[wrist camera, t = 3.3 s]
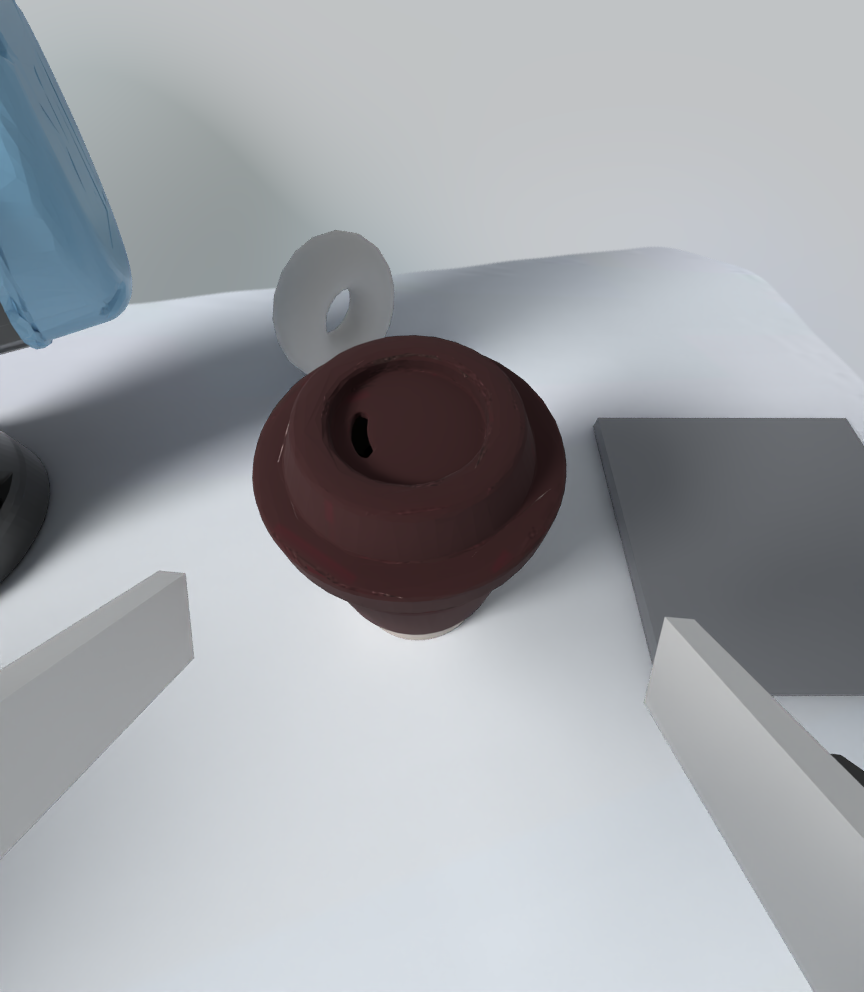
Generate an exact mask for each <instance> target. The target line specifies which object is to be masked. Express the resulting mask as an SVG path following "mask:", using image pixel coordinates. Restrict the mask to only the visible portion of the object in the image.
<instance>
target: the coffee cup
mask: <svg viewBox="0 0 864 992" xmlns="http://www.w3.org/2000/svg"><path fill="white" fill-rule="evenodd" d="M252 479H253V491H254V495H255V500H256V504H257V507H258V509H259V512H260V515H261V518H262V521H263V522H264V524H265V526H266V528H267V530H268V532H269V534H270V535H271V537H272V538H273V540H274V541H275V543H276V544H277V545H278V546H279V547H280V549H281V550H282V551H283V552H284V554H285V555H286V556H287V557H288V559H289V560H290V561H291V562H292V563H293V564H294V565H295V566H296V568H297V569H298V570H299V571H300V572H301V573H302V574H303V575H305V576H306V577H307V578H308V579H309V580H311V581H312V582H313V583H315V584H316V585H318V586H319V587H321V588H322V589H324V590H325V591H327V592H328V593H330V594H332V595H334V596H336V597H339V598H341V599H343V600H345V601H347V602H348V603H349V604H350V605H351V606H353V607H354V608H355V609H356V610H357V611H358V612H359V613H360V614H361V615H362V616H363V617H364V618H366V619H367V620H369V621H370V622H372V623H373V624H375V625H377V626H379V627H380V628H381V629H383V630H384V631H386V632H388V633H390V634H392V635H394V636H397V637H400V638H404V639H409V640H427V639H432V638H436V637H439V636H442V635H444V634H446V633H448V632H450V631H452V630H453V629H455V628H456V627H458V626H459V625H460V624H461V623H462V622H463V621H464V620H465V619H467V618H468V617H469V616H470V615H471V614H473V613H474V612H475V611H476V610H477V609H478V608H479V607H480V606H481V604H482V603H483V602H484V600H485V599H486V598H487V596H488V595H489V594H490V592H491V591H492V590H494V589H496V588H497V587H499V586H501V585H502V584H504V583H505V582H506V581H507V580H508V579H510V578H511V577H512V576H513V575H514V574H515V573H517V572H518V571H519V570H520V569H521V568H522V567H523V566H524V565H525V564H526V562H527V561H528V560H529V559H530V558H531V557H532V556H533V554H534V553H535V551H536V550H537V548H538V547H539V546H540V544H541V542H542V541H543V539H544V537H545V536H546V534H547V532H548V531H549V529H550V527H551V525H552V523H553V522H554V520H555V518H556V515H557V513H558V510H559V508H560V506H561V502H562V498H563V495H564V490H565V483H566V457H565V450H564V446H563V442H562V437H561V435H560V432H559V429H558V426H557V424H556V421H555V419H554V418H553V416H552V414H551V413H550V411H549V409H548V408H547V406H546V405H545V403H544V401H543V400H542V399H541V398H540V397H539V396H538V394H537V393H536V392H535V391H534V390H533V389H532V388H531V387H530V386H529V385H528V383H526V382H525V381H524V380H523V379H522V378H520V377H519V376H518V375H516V374H515V373H513V372H512V371H511V370H509V369H508V368H506V367H505V366H503V365H502V364H500V363H498V362H496V361H494V360H492V359H490V358H488V357H486V356H483V355H481V354H480V353H478V352H476V351H475V350H473V349H471V348H468V347H466V346H463V345H461V344H459V343H456V342H453V341H449V340H445V339H441V338H437V337H428V336H417V335H409V336H392V337H385V338H380V339H376V340H372V341H369V342H366V343H362V344H359V345H356V346H354V347H352V348H350V349H347V350H345V351H343V352H341V353H339V354H338V355H336V356H335V357H333V358H332V359H331V360H329V361H328V362H326V363H325V364H323V365H321V366H319V367H318V368H316V369H315V370H313V371H312V372H310V373H309V374H307V375H306V376H304V377H303V378H302V379H301V380H300V381H298V382H297V383H296V384H295V385H294V386H293V387H292V388H291V389H290V390H289V391H288V392H287V394H286V395H285V396H284V397H283V398H282V399H281V400H280V401H279V403H278V404H277V405H276V407H275V408H274V410H273V411H272V413H271V414H270V416H269V418H268V419H267V421H266V423H265V425H264V427H263V429H262V431H261V433H260V437H259V440H258V443H257V447H256V451H255V456H254V462H253V476H252Z"/></svg>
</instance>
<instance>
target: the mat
mask: <svg viewBox="0 0 864 992" xmlns="http://www.w3.org/2000/svg"><path fill="white" fill-rule="evenodd" d="M593 428H594V432H595V436H596V440H597V444H598V448H599V452H600V456H601V460H602V464H603V468H604V472H605V476H606V480H607V484H608V488H609V492H610V496H611V500H612V504H613V508H614V512H615V516H616V520H617V524H618V528H619V532H620V536H621V540H622V544H623V548H624V552H625V556H626V560H627V564H628V568H629V572H630V576H631V580H632V584H633V588H634V592H635V596H636V600H637V604H638V608H639V612H640V616H641V620H642V624H643V628H644V632H645V636H646V640H647V644H648V648H649V652H650V656H651V660H652V664H653V663H654V659H655V655H656V651H657V646H658V642H659V638H660V634H661V630H662V626H663V622H664V618H665V617H674V618H685V619H694V620H695V621H696V622H697V623H698V624H699V625H700V626H701V627H702V628H703V629H704V630H705V631H706V632H707V633H708V634H709V635H710V636H711V637H712V638H713V639H714V640H715V641H717V642H718V643H719V644H720V645H721V646H722V647H723V648H724V649H725V650H726V651H727V652H728V653H729V654H730V655H731V656H732V657H733V658H734V659H735V660H736V661H737V662H738V663H739V664H740V665H741V666H742V667H743V668H744V669H745V670H746V671H747V672H748V673H749V674H750V675H751V676H752V677H753V678H754V679H755V680H756V681H757V682H758V683H759V684H760V685H761V686H762V687H763V688H764V689H765V690H766V691H767V692H768V693H769V694H770V695H771V696H856V695H864V446H863V444H862V442H861V441H860V439H859V438H858V436H857V435H856V433H855V432H854V430H853V428H852V427H851V425H850V424H849V422H848V421H847V419H846V418H598V419H597V421H596V423H595V425H594V426H593Z"/></svg>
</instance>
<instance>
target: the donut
mask: <svg viewBox="0 0 864 992" xmlns="http://www.w3.org/2000/svg"><path fill="white" fill-rule="evenodd" d="M346 289H348V290H349V295H350V302H349V308H348V311H347V313H346V316H345V318H344V319H343V321H342V322H341V324H340V325H339V326H338V327H337V328H336V329H335V330H333V331H331V332H328V333H327V329H326V318H327V313H328V310H329V308H330V305H331V303H332V302H333V300H334V299H335V297H336V296H337V295H338V294H339V293H340V292H342V291H343V290H346ZM393 309H394V284H393V280H392V275H391V271H390V268H389V266H388V264H387V262H386V261H385V259H384V257H383V256H382V254H381V252H380V250H379V249H378V248H377V247H376V246H375V245H374V244H372V243H371V242H369V241H368V240H367V239H365V238H364V237H362V236H361V235H359V234H357V233H352V232H345V231H338V230H334V231H331V232H328V233H325V234H322V235H319V236H315V237H313V238H311V239H310V240H309V241H307V242H306V243H305V244H304V245H303V246H301V247H300V248H299V249H298V250H296V251H295V252H294V254H293V255H292V257H291V258H290V260H289V262H288V263H287V265H286V266H285V268H284V269H283V271H282V273H281V276H280V279H279V282H278V285H277V288H276V291H275V294H274V304H273V323H274V327H275V332H276V336H277V340H278V343H279V345H280V347H281V349H282V350H283V352H284V353H285V355H286V357H287V358H288V360H289V361H290V362H291V363H292V364H293V365H294V366H296V367H297V368H298V369H300V370H301V371H302V372H304V373H305V374H309V373H310V372H312V371H313V370H315V369H316V368H318V367H319V366H321V365H323V364H325V363H326V362H328V361H329V360H331V359H332V358H333V357H335V356H336V355H338V354H339V353H341V352H343V351H345V350H347V349H350V348H352V347H354V346H356V345H359V344H362V343H366V342H369V341H372V340H376V339H380V338H385V335H386V333H387V331H388V328H389V326H390V322H391V318H392V313H393Z"/></svg>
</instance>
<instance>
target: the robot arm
mask: <svg viewBox="0 0 864 992" xmlns="http://www.w3.org/2000/svg"><path fill="white" fill-rule="evenodd" d="M131 294H132V276H131V270H130V265H129V261H128V258H127V254H126V250H125V247H124V244H123V241H122V238H121V235H120V232H119V230H118V226H117V223H116V221H115V218H114V215H113V212H112V209H111V207H110V204H109V202H108V199H107V197H106V194H105V192H104V189H103V187H102V184H101V182H100V179H99V177H98V174H97V172H96V169H95V167H94V164H93V162H92V160H91V157H90V155H89V153H88V150H87V148H86V145H85V143H84V141H83V139H82V136H81V134H80V132H79V129H78V127H77V125H76V123H75V120H74V118H73V116H72V114H71V112H70V109H69V107H68V105H67V103H66V100H65V98H64V96H63V94H62V92H61V90H60V88H59V85H58V83H57V82H56V79H55V77H54V74H53V72H52V70H51V68H50V66H49V64H48V62H47V60H46V58H45V56H44V54H43V52H42V50H41V47H40V45H39V43H38V41H37V40H36V38H35V36H34V33H33V32H32V30H31V28H30V26H29V24H28V22H27V20H26V18H25V16H24V14H23V12H22V11H21V10H20V8H19V7H18V6H17V4H16V3H15V0H0V355H1V354H5V353H9V352H13V351H16V350H20V349H24V348H28V347H32V348H35V349H41V348H45V347H46V346H48V345H50V344H51V343H52V340H53V339H56V338H59V337H62V336H65V335H68V334H71V333H74V332H77V331H80V330H83V329H86V328H89V327H92V326H96V325H99V324H102V323H105V322H108V321H111V320H113V319H115V318H116V317H118V316H119V315H120V314H121V313H122V312H123V311H124V310H125V309H126V307H127V305H128V304H129V301H130V298H131ZM49 491H50V490H49V480H48V476H47V472H46V470H45V467H44V466H43V464H42V462H41V461H40V460H39V458H38V457H37V456H36V455H35V454H34V453H33V452H32V451H30V450H29V449H28V448H26V447H25V446H23V445H22V444H20V443H19V442H18V441H16V440H15V439H13V438H12V437H10V436H9V435H7V434H6V433H4V432H3V431H1V430H0V583H1V582H2V581H3V580H4V579H5V578H6V576H7V575H8V574H9V573H10V572H11V571H12V570H13V569H14V567H15V566H16V565H17V564H18V563H19V561H20V560H21V559H22V557H23V556H24V555H25V553H26V552H27V550H28V549H29V547H30V546H31V544H32V543H33V541H34V539H35V537H36V536H37V534H38V532H39V530H40V528H41V525H42V523H43V520H44V518H45V514H46V511H47V507H48V502H49ZM193 659H194V653H193V643H192V633H191V623H190V613H189V603H188V593H187V583H186V573H177V572H166V571H158V572H156V573H155V574H153V575H152V576H150V577H148V578H147V579H145V580H144V581H142V582H140V583H139V584H137V585H136V586H134V587H132V588H131V589H129V590H128V591H126V592H124V593H123V594H121V595H120V596H118V597H116V598H115V599H113V600H112V601H110V602H108V603H107V604H105V605H104V606H102V607H100V608H99V609H97V610H96V611H94V612H92V613H91V614H89V615H88V616H86V617H84V618H83V619H81V620H80V621H78V622H76V623H75V624H73V625H72V626H70V627H68V628H67V629H65V630H64V631H62V632H60V633H59V634H57V635H55V636H54V637H52V638H51V639H49V640H47V641H46V642H44V643H43V644H41V645H39V646H38V647H36V648H35V649H33V650H31V651H30V652H28V653H27V654H25V655H23V656H22V657H20V658H19V659H17V660H15V661H14V662H12V663H11V664H9V665H7V666H6V667H4V668H3V669H1V670H0V859H1V858H2V857H3V856H4V855H5V854H6V853H7V852H8V851H9V850H10V849H11V848H12V847H13V846H14V845H15V844H16V843H17V842H18V841H19V840H20V839H21V837H22V836H23V835H24V834H25V833H26V832H27V831H28V830H29V829H30V828H31V827H32V826H33V825H34V824H35V823H36V822H37V821H38V820H39V819H40V818H41V817H42V816H43V815H44V814H45V813H46V811H47V810H48V809H49V808H50V807H51V806H52V805H53V804H54V803H55V802H56V801H57V800H58V799H59V798H60V797H61V796H62V795H63V794H64V793H65V792H66V791H67V790H68V789H69V788H70V787H71V785H72V784H73V783H74V782H75V781H76V780H77V779H78V778H79V777H80V776H81V775H82V774H83V773H84V772H85V771H86V770H87V769H88V768H89V767H90V766H91V765H92V764H93V763H94V762H95V761H96V759H97V758H98V757H99V756H100V755H101V754H102V753H103V752H104V751H105V750H106V749H107V748H108V747H109V746H110V745H111V744H112V743H113V742H114V741H115V740H116V739H117V738H118V737H119V736H120V735H121V734H122V732H123V731H124V730H125V729H126V728H127V727H128V726H129V725H130V724H131V723H132V722H133V721H134V720H135V719H136V718H137V717H138V716H139V715H140V714H141V713H142V712H143V711H144V710H145V709H146V708H147V706H148V705H149V704H150V703H151V702H152V701H153V700H154V699H155V698H156V697H157V696H158V695H159V694H160V693H161V692H162V691H163V690H164V689H165V688H166V687H167V686H168V685H169V684H170V683H171V682H172V680H173V679H174V678H175V677H176V676H177V675H178V674H179V673H180V672H181V671H182V670H183V669H184V668H185V667H186V666H187V665H188V664H189V663H190V662H191V661H192V660H193ZM644 704H645V706H646V707H647V709H648V711H649V712H650V714H651V716H652V717H653V719H654V721H655V723H656V724H657V726H658V728H659V729H660V731H661V733H662V735H663V736H664V738H665V740H666V741H667V743H668V745H669V746H670V748H671V750H672V752H673V753H674V755H675V757H676V758H677V760H678V762H679V763H680V765H681V767H682V769H683V770H684V772H685V774H686V775H687V777H688V779H689V781H690V782H691V784H692V786H693V787H694V789H695V791H696V792H697V794H698V796H699V798H700V799H701V801H702V803H703V804H704V806H705V808H706V810H707V811H708V813H709V815H710V816H711V818H712V820H713V821H714V823H715V825H716V827H717V828H718V830H719V832H720V833H721V835H722V837H723V838H724V840H725V842H726V844H727V845H728V847H729V849H730V850H731V852H732V854H733V856H734V857H735V859H736V861H737V862H738V864H739V866H740V867H741V869H742V871H743V873H744V874H745V876H746V878H747V879H748V881H749V883H750V884H751V886H752V888H753V890H754V891H755V893H756V895H757V896H758V898H759V900H760V902H761V903H762V905H763V907H764V908H765V910H766V912H767V913H768V915H769V917H770V919H771V920H772V922H773V924H774V925H775V927H776V929H777V931H778V932H779V934H780V936H781V937H782V939H783V941H784V942H785V944H786V946H787V948H788V949H789V951H790V953H791V954H792V956H793V958H794V959H795V961H796V963H797V965H798V966H799V968H800V970H801V971H802V973H803V975H804V977H805V978H806V980H807V982H808V983H809V985H810V987H811V988H812V990H813V992H864V771H863V770H862V769H860V768H859V767H857V766H856V765H854V764H853V763H852V762H850V761H849V760H847V759H846V758H844V757H843V756H841V755H837V754H830V753H829V752H828V751H827V750H826V749H825V748H823V747H822V746H821V745H820V744H819V743H818V742H817V741H816V740H815V739H814V738H813V737H812V736H811V735H810V734H809V733H808V732H807V731H806V730H805V729H804V728H803V727H802V726H801V725H800V724H799V723H798V722H797V721H796V720H795V719H794V718H793V717H792V716H791V715H790V714H789V713H788V712H787V711H786V710H785V709H784V708H783V707H782V706H781V705H780V704H779V703H778V702H777V701H776V700H775V699H774V698H773V697H772V696H771V695H770V694H769V693H768V692H767V691H766V690H765V689H764V688H763V687H762V686H761V685H760V684H759V683H758V682H757V681H756V680H755V679H754V678H753V677H752V676H751V675H750V674H749V673H748V672H747V671H746V670H745V669H744V668H743V667H742V666H741V665H740V664H739V663H738V662H737V661H736V660H735V659H734V658H733V657H732V656H731V655H730V654H729V653H728V652H727V651H726V650H725V649H724V648H723V647H722V646H721V645H720V644H719V643H718V642H717V641H715V640H714V639H713V638H712V637H711V636H710V635H709V634H708V633H707V632H706V631H705V630H704V629H703V628H702V627H701V626H700V625H699V624H698V623H697V622H696V621H695V620H694V619H685V618H674V617H665V618H664V622H663V626H662V630H661V634H660V638H659V642H658V646H657V651H656V655H655V659H654V663H653V667H652V671H651V675H650V679H649V683H648V687H647V691H646V695H645V699H644Z"/></svg>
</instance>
